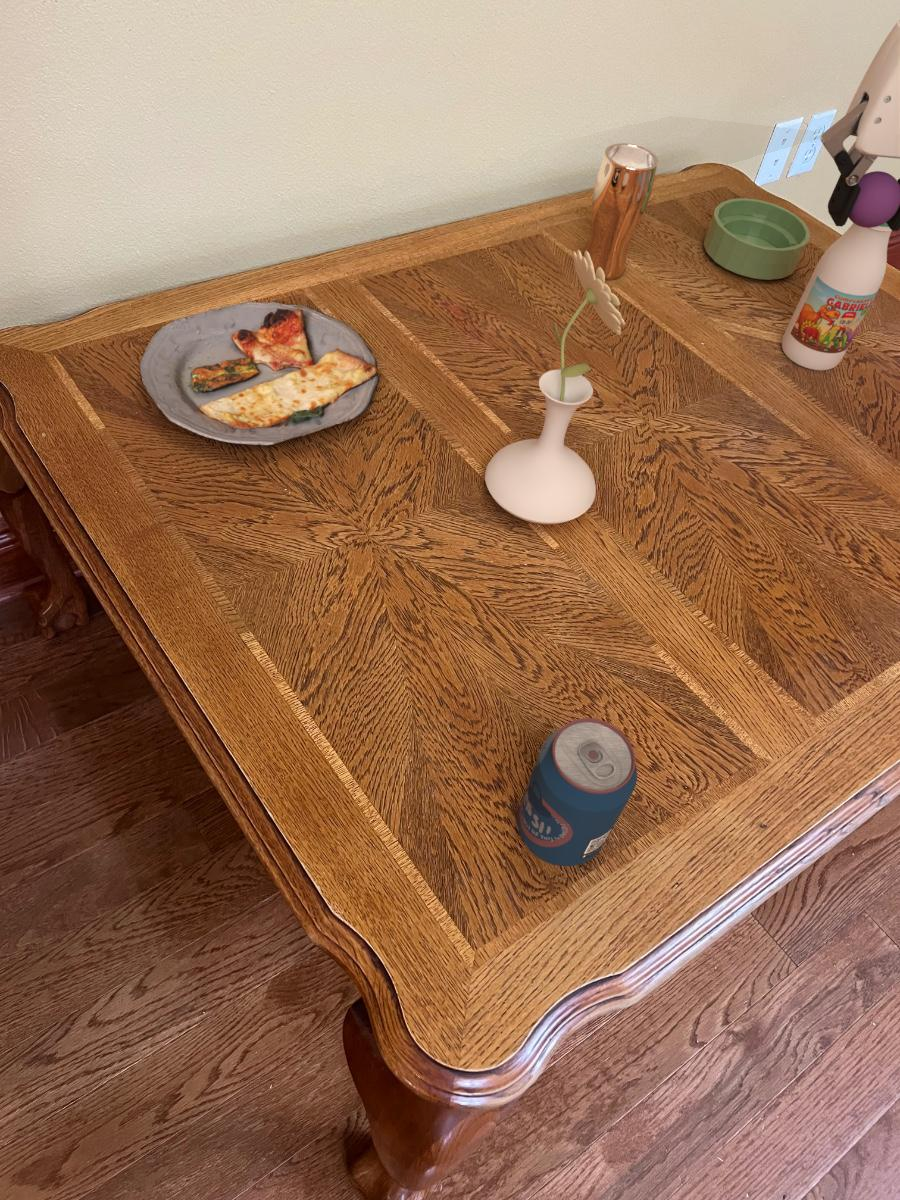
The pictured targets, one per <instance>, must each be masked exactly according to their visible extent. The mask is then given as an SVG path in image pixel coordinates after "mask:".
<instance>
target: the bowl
mask: <svg viewBox="0 0 900 1200" xmlns="http://www.w3.org/2000/svg"><path fill="white" fill-rule="evenodd" d="M707 227H708V228H707V229H706V233H705V236H704V240H703V247H704V250H705V253H706V254H707V255H708V256H709V257H710V258H711V259H712V260H713V261H714V263H716V264H718V265H719V266H721V267H722V268H724V269H725V270H728V271H730V272H732V273H734V274H737V275H740V276H743V277H747V278H750V279H754V280H755V279H756V280H767V281H771V280H780V279H784V278H786V277H789V276H791V275H792V274H793V273H794V272H795V271H796V270H797V269H798V266H799V264H800V261H801V260H802V257H803V255H804V253H805V250H806V249H807V246H808V244H809V242H810V239H811V238H810V237H811V230H810V229H809V226H808V225H807V224H806V222H805V221H803V220H802V219H801V217H800V216H798V214H797V215H796V214H795V213H794V212H792V211H790V209H789V210H788V209H787V208H785V207H782V206H780V205H778V204H776V203H772V202H769V201H765V200H761V199H757V198H745V197H741V198H730V199H727V200H725V201H722V202H720V203H719V204H718V205H717V206H716V207H715V208H714V210H713V213H712V216H711V219H710V222H709V224H708V226H707Z"/></svg>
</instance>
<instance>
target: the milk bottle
mask: <svg viewBox="0 0 900 1200" xmlns="http://www.w3.org/2000/svg"><path fill="white" fill-rule="evenodd" d="M892 232H893V231H892V230H891V229H890V228H889V226H888V225H887V223H886V222H885V223H884V224H882V225H880V226H877V227H872V228H865V227H861V226H858V225H856V224H854V223H853V222H852V224H851V225H850V227H848V229H847V230H846V231H845V232H844V233H843V234H842V235H841V236H840V237H838V238H837V239H836V240H835V241H834V242H833V243H832V244H831V245H829V246H828V247H827V249H826V250H825V251H824V253H823V254H822V256H821V257H820V259H819V260H818V262H817V264H816V266H815V268H814V270H813V272H812V274H811V276H810V278H809V281H808V282H807V284H806V287H805V288H804V291H803V293H802V295H801V297H800V299H799V300H798V303H797V305H796V308H795V310H794V312H793V314H792V316H791V319H790V321H789V323H788V325H787V327H786V329H785V332H784V333H783V336H782V339H781V350H782V351H783V353H784V354H785V356H786V357H787V358H788V359H789V360H790V361H792V362H793V363H795V364H797V365H799V366H800V367H803V368H805V369H809V370H813V371H828V370H833V368H835V367H837V366H839V364H840V363H841V362H842V360H843V359H844V357H845V355H846V353H847V351H848V349H849V347H850V346H851V344H852V341H853V340H854V338H855V337H856V334H857V332H858V331H859V328H860V326H861V325H862V323H863V321H864V319H865V317H866V315H867V313H868V311H869V310H870V308H871V306H872V304H873V302H874V300H875V298H876V296H877V294H878V292H879V290H880V287H881V286H882V283H883V281H884V278H885V274H886V271H887V270H886V269H887V265H888V246H889V241H890V236H891V233H892Z"/></svg>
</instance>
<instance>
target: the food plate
mask: <svg viewBox="0 0 900 1200" xmlns="http://www.w3.org/2000/svg"><path fill="white" fill-rule="evenodd" d="M139 364H140V367H139V368H140V369H139V370H140V376H141V379H142V381H141V382H142V384H143V385H144V388H145V389H146V391H147V393H148V395H149V397H151V399H152V400H153V401H154V404H156V406H157V407H158V409H159V410H160V411H161V413H162V414H164V416H165V417H166V418H167V419H168V421H170V422H171V423H173V424H174V425H177V426H179V427H180V428H182V429H186V430H188V431H189V432H192V433H195V434H197V435H198V436H203V437H205V438H207V439H213V440H215V441H220V442H224V443H231V444H237V445H251V446H258V445H259V446H260V445H261V446H273V445H275V444H278V443H281V442H282V443H283V442H285V441H288V440H291V439H294V438H299V437H301V436H302V437H305V436H306V435H310V434H313V433H316V432H319V431H321V430H324V429H325V430H326V429H327V428H331V427H334V426H336V425H339V424H342V423H345V422H346V423H348V422H349V421H352V420H354V419H355V418H357V417H358V416H360V415H362V414H364V412H365V411H366V410H367V409H368V408H369V406H370V405H371V402H372V400H373V398H374V394H375V392H376V390H377V388H378V385H379V383H380V380H381V379H380V376H379V372H378V362H377V358H376V356H375V355H374V354H373V351H372V350H371V348H370V347H369V345H368V344H367V342H366V341H365V339H364V338H363V337H362V335H361V334H360V333H358V332H357V331H356V330H355V329H354V328H352V327H351V326H350V325H349V324H347V323H346V322H343V321H342V320H340V319H338V318H335V317H333V316H330V315H328V314H326V313H324V312H322V311H319V310H316V309H315V308H313V307H309V306H306V305H302V304H301V305H300V304H291V303H290V304H289V303H288V304H284V303H280V302H277V301H270V302H257V301H243V302H239V303H236V304H230V305H228V306H227V305H225V306H222V307H218V308H213V309H208V310H207V311H203V312H198V313H194V314H191V315H187V316H183V317H180V318H176V319H174V320H172V321H171V322H169V323H167V324H166V325H165V326H162V327H161V328H160V329H159V330H158V331H157V332H156V333H155V334H154V335H153V336H152V337H151V339H150V341H149V343H148V344H147V345H146V347H145V350H144V353H143V355H142V357H141V361H140V362H139Z"/></svg>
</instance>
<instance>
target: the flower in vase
mask: <svg viewBox="0 0 900 1200" xmlns="http://www.w3.org/2000/svg"><path fill="white" fill-rule="evenodd" d="M582 255H583V253H582V252H581V250H580V249H577V250H576V251H572V256H573V257H572V258H573V259H572V261H573V267H574V271H575V273H576V275H577V277H578V280H579V282H580V284H581V287H582V288H583V291H584V293H585V296H584V300H583V301H582V303H581V304H579V306H578V308H577V309H576V311H575V312H574V314H573V315H572V317H571V318H570V320H569V321H568V322H567V324H566V327H565V328H564V331H563V333H562V336H561V335H560V332H559V330H558V326H557V323H556V322H553V323H552V324H551V326H550V327H551V329H552V330H553V331H554V332H555V336H556V337H555V338H556V340H557V343H558V345H559V347H560V368H559V369H551V370H548V371H546V372H544V373H543V374H542V375H541V376H540V377H539V379H538V388H539V390H540V392H541V393H542V395H543V396H544V400H545V401H544V402H545V414H544V415H545V416H544V422H543V425H542V426H543V427H542V430H541V433H540V435H539V436H538V438H529V439H522V440H519V441H516V442H512V443H510V444H507V445H506V446H504V447H502V448H501V449H499V450H497V452H496V453H495V454H494V455H493V456H492V457H491V459H490V460H489V462H488V463H487V466H486V468H485V472H484V481H485V485H486V488H487V490H488V491H489V492H488V493H489V494H490V495H491V496H492V498H493V499H494V501H495V502H496V503H497V505H498V506H500V507H501V508H502V509H503V510H504V511H506V512H507V513H508V514H510V515H512V516H514V517H515V518H518V519H519V520H523V521H526V522H529V523H533V524H539V525H558V524H564V523H567V522H570V521H572V520H575V519H577V518H579V517H580V516H582V515H584V514H585V513H586V512H587V511H588V510H589V509H591V507H592V505H593V504H594V502H595V499H596V495H597V487H596V481H595V476H594V474H593V471H592V470H591V467H590V466H589V465H588V464H587V462H586V461H585V460H584V459H583V458H582V456H580V455H579V454H578V453H577V452H576V451H574V450H572V449H571V448H570V447H568V446H566V445H565V437H566V432H567V429H568V427H569V424H570V422H571V420H572V417H573V415H574V414H575V412H576V410H577V409H578V408H579V407H580V406H581V405H582V404H585V403H587V401H589V400H590V399H591V398H592V397H593V394H594V388H593V385H592V384H591V382H590V380H588V379H587V378H586V377H585V376H583V375H584V374H586V373H589V372H590V371H592V368H591V367H590V365H589V364H587V363H584V362H583V363H582V362H581V363H575V364H572V365H569V366H565V365H566V364H565V343H566V338H567V335H568V333H569V330H570V329H571V328H572V326H573V324H574V322H575V321H576V319H577V318H578V317H579V315H580V313H581V312H582V311H583V309H584V308H585V306H586V305H587V304H588V303H589V304H590V305H591V306H592V308H593V309H594V310H595V312H596V314H597V315H598V317H599V318H600V319H601V320H602V322H603V324H604V325H605V326H606V327H607V328H608V329H610V330H611V332H613V333H615V334H616V335H618V336H621V335H622V329H621V326H625V325H626V322H625V320H624V318H623V316H622V314H621V312H620V311H619V310H618V309H617V308H616V307H619V306H620V305H621V301H620V300H619V298H618V296H617V295H616V294H615V293H613V292H612V289H611V288H610V286H609V285H608V284H607V283H606V280H605V274H604V271H603V270H602V268H601V267H598V268H597V271H596V275H595V271H594V266H593V263H592V260H591V257H590V255H589V253H588V252H587V251H585V257H582ZM615 306H616V307H615Z"/></svg>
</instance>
